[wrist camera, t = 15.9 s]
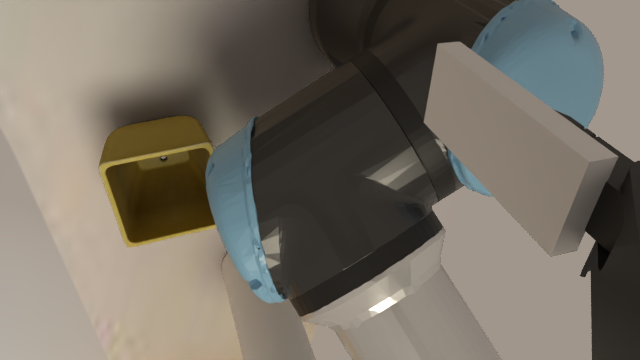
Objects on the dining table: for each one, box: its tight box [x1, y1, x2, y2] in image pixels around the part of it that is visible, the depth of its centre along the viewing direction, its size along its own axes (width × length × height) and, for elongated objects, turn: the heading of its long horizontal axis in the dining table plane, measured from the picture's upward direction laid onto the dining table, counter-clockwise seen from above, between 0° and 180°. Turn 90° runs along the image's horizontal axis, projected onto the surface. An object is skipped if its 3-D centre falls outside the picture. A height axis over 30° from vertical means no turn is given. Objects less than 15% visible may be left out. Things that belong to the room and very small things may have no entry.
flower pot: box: [98, 116, 216, 247], centre depth 47 cm, size 9×9×9 cm
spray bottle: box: [222, 253, 316, 360], centre depth 54 cm, size 7×7×25 cm
